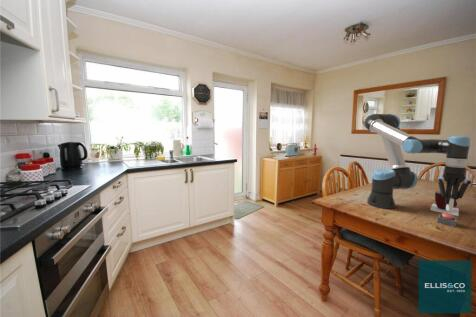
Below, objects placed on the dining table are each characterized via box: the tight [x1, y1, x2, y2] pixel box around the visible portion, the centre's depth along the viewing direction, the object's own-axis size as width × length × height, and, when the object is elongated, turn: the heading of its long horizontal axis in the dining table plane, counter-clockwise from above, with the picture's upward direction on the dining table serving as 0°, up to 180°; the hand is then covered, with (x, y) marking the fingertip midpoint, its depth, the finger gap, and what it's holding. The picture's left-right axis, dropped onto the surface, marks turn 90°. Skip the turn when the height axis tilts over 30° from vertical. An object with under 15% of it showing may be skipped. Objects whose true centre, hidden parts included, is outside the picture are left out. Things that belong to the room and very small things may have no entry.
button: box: [441, 213, 455, 220], centre depth 108 cm, size 4×4×2 cm
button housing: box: [436, 213, 458, 228], centre depth 108 cm, size 7×7×3 cm
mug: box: [434, 190, 458, 210], centre depth 126 cm, size 10×8×10 cm
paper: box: [429, 203, 460, 217], centre depth 127 cm, size 16×12×1 cm
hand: (449, 210), depth 107 cm, fingers closed
